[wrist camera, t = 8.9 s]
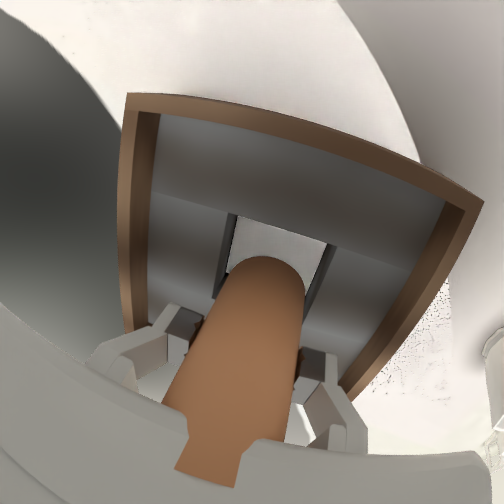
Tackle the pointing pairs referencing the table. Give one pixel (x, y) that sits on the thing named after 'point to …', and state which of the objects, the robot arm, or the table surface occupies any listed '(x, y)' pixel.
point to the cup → (495, 377)
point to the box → (283, 221)
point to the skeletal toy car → (503, 447)
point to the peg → (240, 369)
